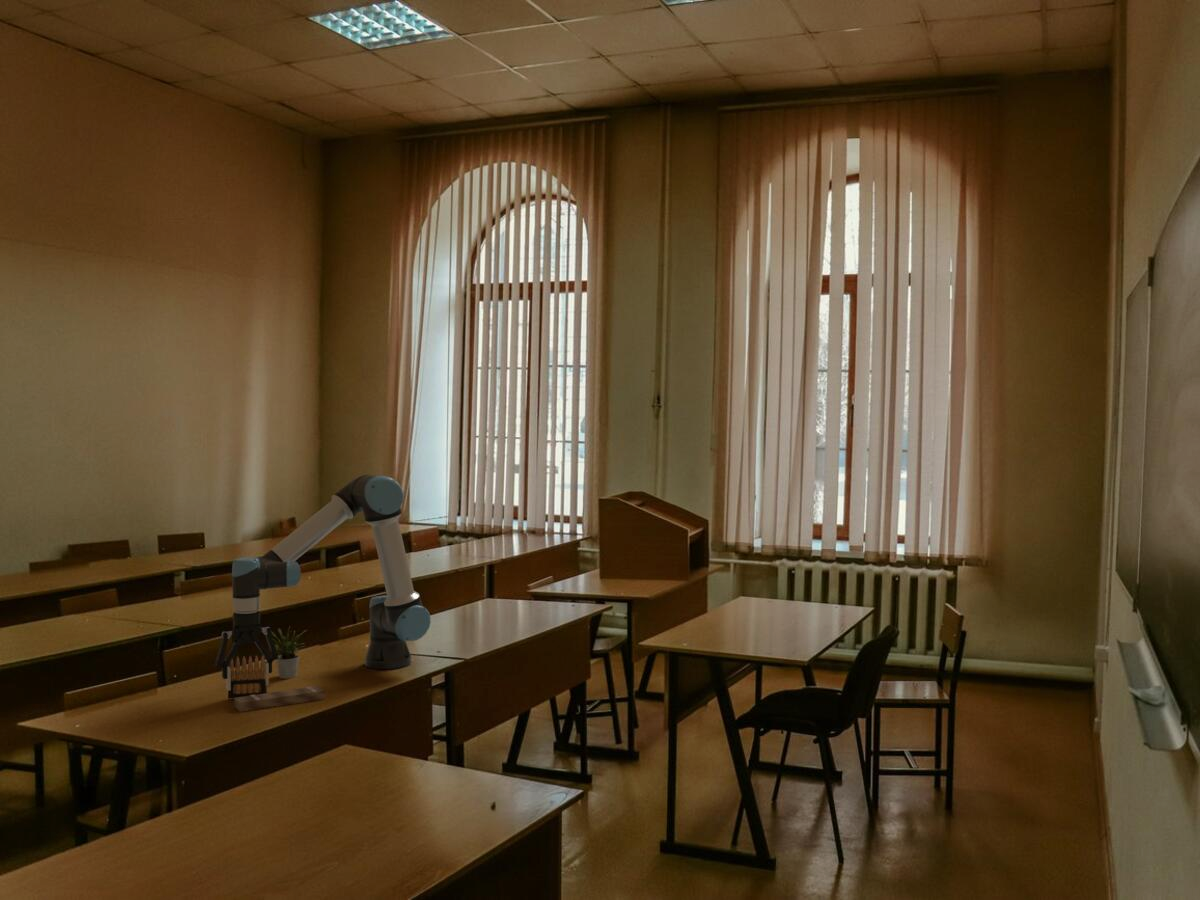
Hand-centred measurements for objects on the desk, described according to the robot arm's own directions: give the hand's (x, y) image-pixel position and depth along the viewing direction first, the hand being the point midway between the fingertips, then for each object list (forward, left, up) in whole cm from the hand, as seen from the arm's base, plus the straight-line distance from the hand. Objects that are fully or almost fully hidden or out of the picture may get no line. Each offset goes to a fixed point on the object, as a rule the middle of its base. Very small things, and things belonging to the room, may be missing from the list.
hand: (247, 686), depth 300 cm
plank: (-7, +10, -3) cm, 13 cm away
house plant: (-16, -20, -4) cm, 26 cm away
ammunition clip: (0, 0, -3) cm, 3 cm away
